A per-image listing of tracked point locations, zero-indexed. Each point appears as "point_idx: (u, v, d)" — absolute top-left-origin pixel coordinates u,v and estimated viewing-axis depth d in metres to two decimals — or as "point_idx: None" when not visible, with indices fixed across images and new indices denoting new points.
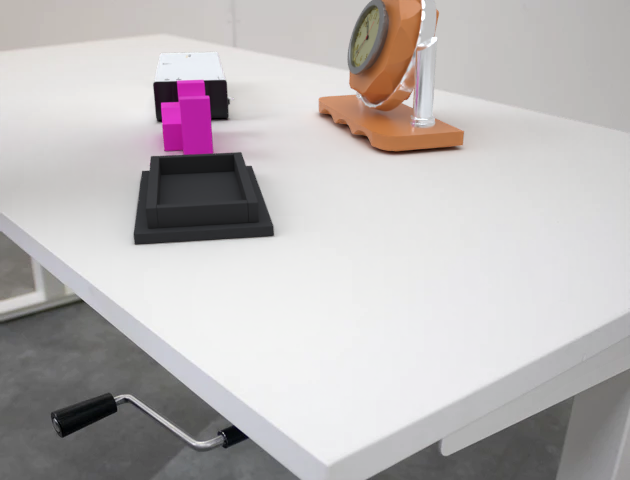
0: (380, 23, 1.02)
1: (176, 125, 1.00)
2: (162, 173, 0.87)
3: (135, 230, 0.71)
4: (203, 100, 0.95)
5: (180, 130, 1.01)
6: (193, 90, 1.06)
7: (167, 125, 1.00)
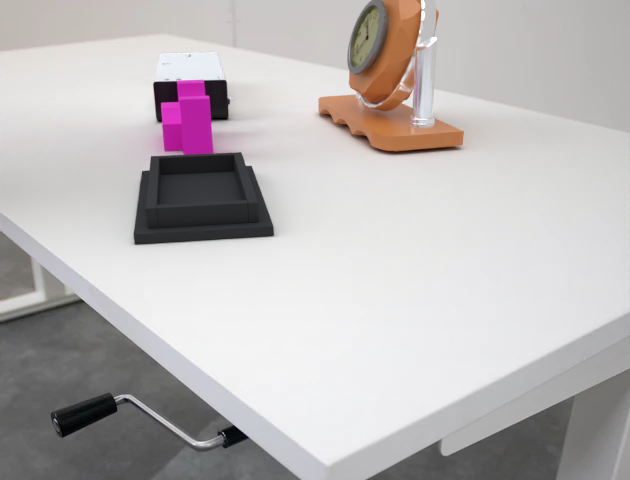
0: (380, 23, 1.02)
1: (176, 125, 1.00)
2: (162, 173, 0.87)
3: (135, 230, 0.71)
4: (203, 100, 0.95)
5: (180, 130, 1.01)
6: (193, 90, 1.06)
7: (167, 125, 1.00)
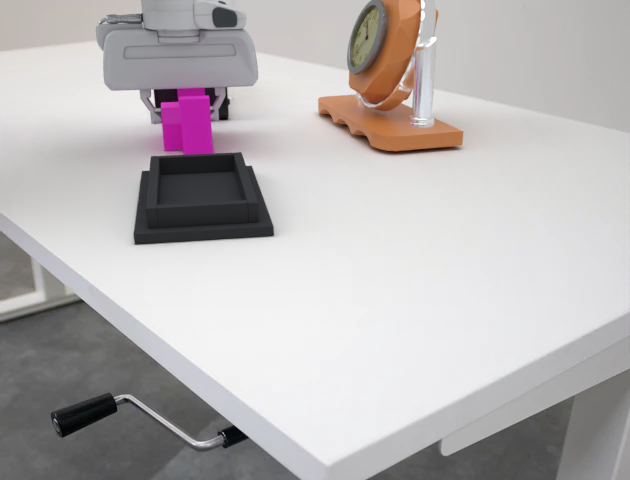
0: (379, 23, 1.02)
1: (176, 125, 1.00)
2: (162, 173, 0.87)
3: (135, 230, 0.71)
4: (203, 100, 0.95)
5: (180, 130, 1.01)
6: (192, 89, 1.06)
7: (167, 125, 1.00)
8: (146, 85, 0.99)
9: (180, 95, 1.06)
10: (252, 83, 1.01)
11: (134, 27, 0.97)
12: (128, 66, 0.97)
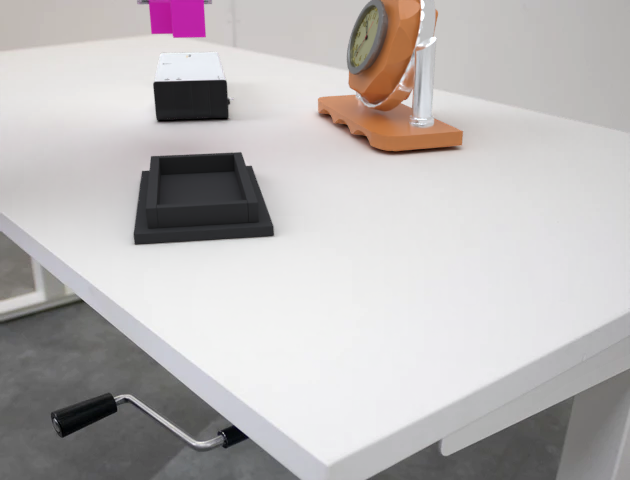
0: (379, 23, 1.02)
1: (164, 4, 0.91)
2: (162, 173, 0.87)
3: (135, 230, 0.71)
4: None
5: (169, 10, 0.91)
6: None
7: (154, 3, 0.90)
8: None
9: None
10: None
11: None
12: None
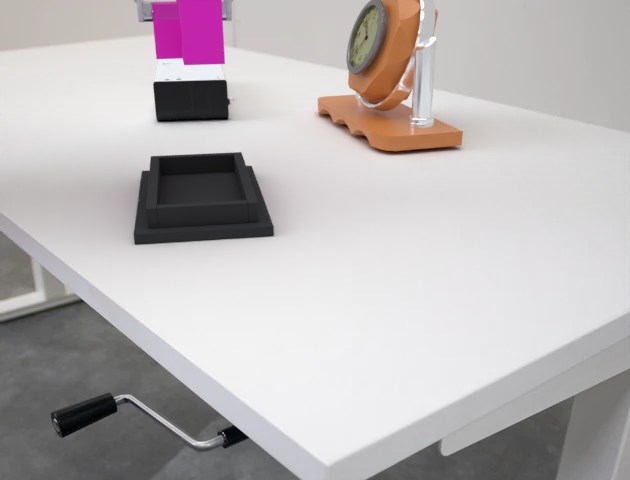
0: (379, 23, 1.02)
1: (173, 22, 0.72)
2: (162, 173, 0.87)
3: (135, 230, 0.71)
4: None
5: (178, 29, 0.72)
6: None
7: (160, 21, 0.72)
8: None
9: None
10: None
11: None
12: None
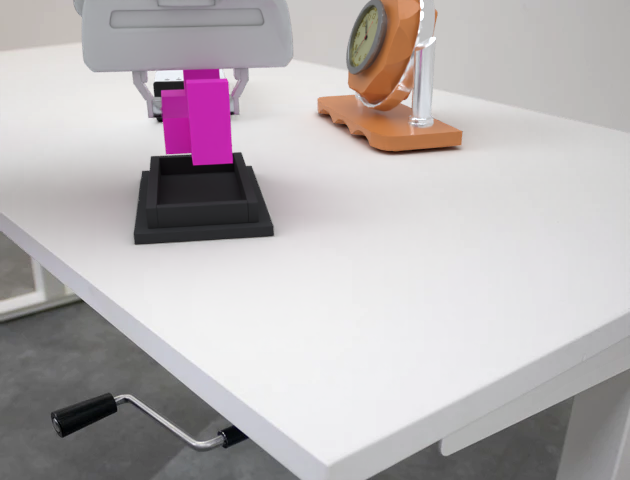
0: (379, 23, 1.02)
1: (182, 119, 0.74)
2: (162, 173, 0.87)
3: (135, 230, 0.71)
4: (220, 85, 0.69)
5: (187, 126, 0.74)
6: (203, 73, 0.80)
7: (170, 119, 0.74)
8: (141, 65, 0.72)
9: (187, 80, 0.79)
10: (285, 63, 0.74)
11: None
12: (117, 38, 0.71)
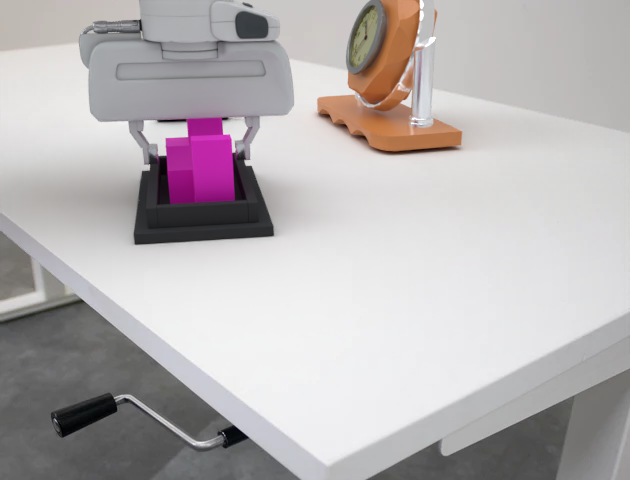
0: (378, 23, 1.02)
1: (186, 171, 0.76)
2: (162, 173, 0.87)
3: (135, 230, 0.71)
4: (223, 142, 0.71)
5: (191, 178, 0.77)
6: (207, 122, 0.82)
7: (174, 172, 0.76)
8: (146, 115, 0.74)
9: (191, 130, 0.82)
10: (286, 111, 0.76)
11: (130, 38, 0.72)
12: (122, 90, 0.73)
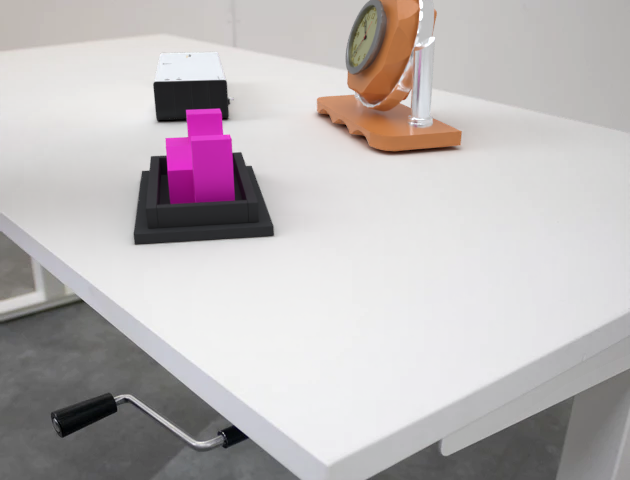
0: (378, 23, 1.02)
1: (186, 171, 0.76)
2: (162, 173, 0.87)
3: (135, 230, 0.71)
4: (223, 142, 0.71)
5: (191, 178, 0.77)
6: (207, 122, 0.82)
7: (174, 172, 0.76)
8: None
9: (191, 130, 0.82)
10: None
11: None
12: None
